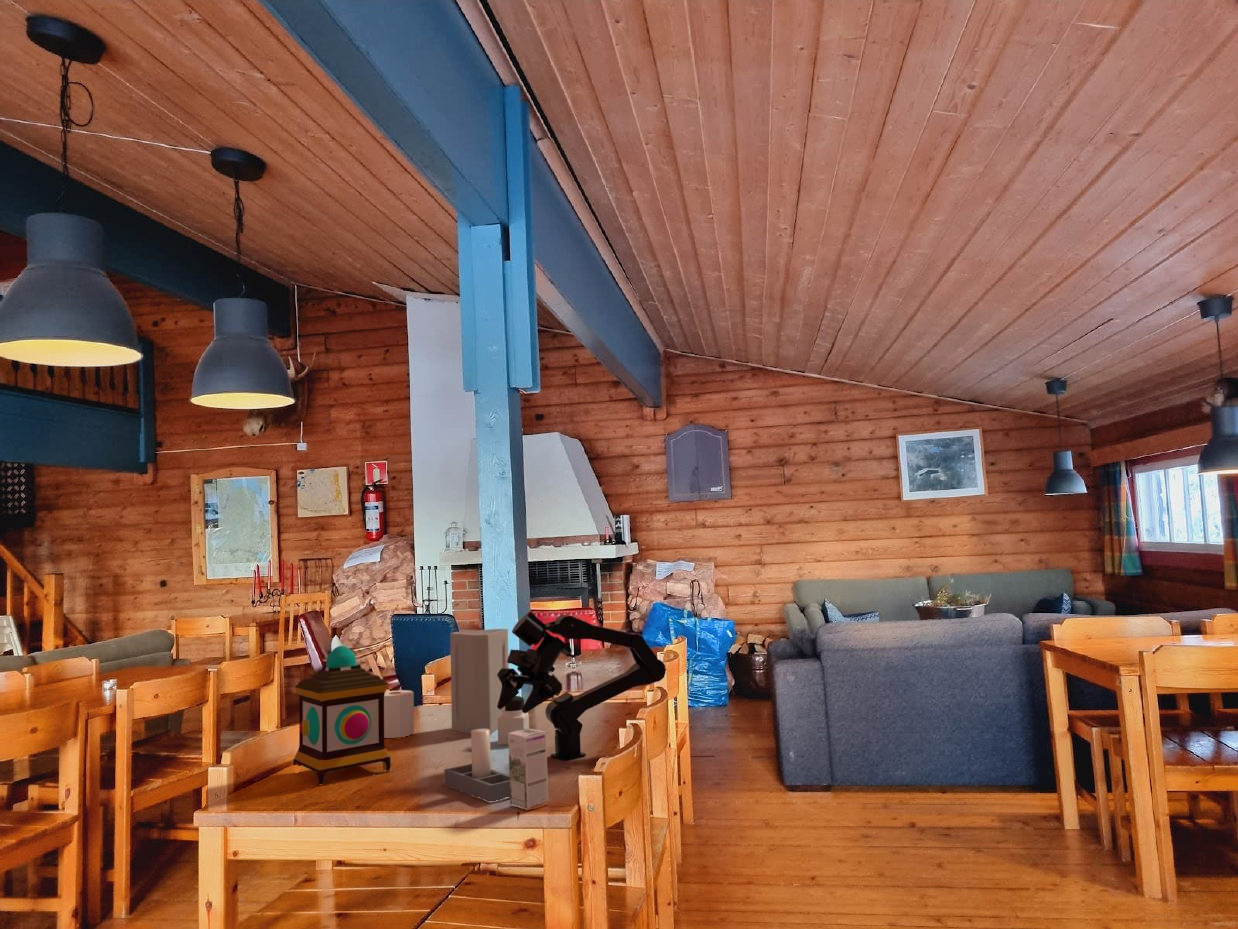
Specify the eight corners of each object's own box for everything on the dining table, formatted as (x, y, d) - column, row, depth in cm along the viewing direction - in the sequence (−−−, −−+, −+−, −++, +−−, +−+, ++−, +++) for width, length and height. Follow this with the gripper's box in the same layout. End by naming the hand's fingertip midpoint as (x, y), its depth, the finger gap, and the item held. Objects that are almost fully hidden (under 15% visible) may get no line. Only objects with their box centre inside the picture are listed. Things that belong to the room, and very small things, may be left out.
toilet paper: (395, 740, 237) (394, 696, 238) (369, 737, 242) (369, 694, 243) (421, 733, 245) (420, 690, 247) (395, 730, 251) (395, 689, 252)
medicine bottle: (529, 739, 231) (528, 694, 233) (524, 745, 224) (522, 698, 226) (504, 739, 232) (503, 695, 233) (497, 745, 225) (496, 699, 226)
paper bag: (464, 722, 260) (462, 629, 263) (510, 721, 257) (508, 628, 260) (440, 735, 241) (439, 636, 244) (490, 735, 239) (488, 634, 242)
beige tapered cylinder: (494, 787, 181) (493, 730, 182) (478, 791, 178) (477, 733, 180) (485, 784, 184) (483, 727, 185) (468, 788, 181) (467, 730, 183)
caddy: (520, 796, 176) (520, 778, 176) (491, 803, 171) (490, 785, 172) (473, 779, 191) (472, 763, 191) (444, 785, 186) (444, 769, 187)
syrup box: (549, 805, 169) (547, 730, 170) (526, 812, 165) (524, 735, 166) (532, 800, 173) (530, 727, 174) (508, 806, 169) (507, 732, 170)
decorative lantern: (285, 773, 203) (285, 647, 207) (364, 758, 216) (363, 639, 219) (315, 789, 188) (315, 652, 191) (398, 771, 201) (397, 643, 204)
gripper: (502, 635, 212) (467, 686, 203) (551, 638, 199) (516, 692, 190) (527, 663, 217) (493, 714, 208) (577, 667, 204) (544, 722, 195)
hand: (510, 710), depth 200 cm, fingers open, 9 cm apart
